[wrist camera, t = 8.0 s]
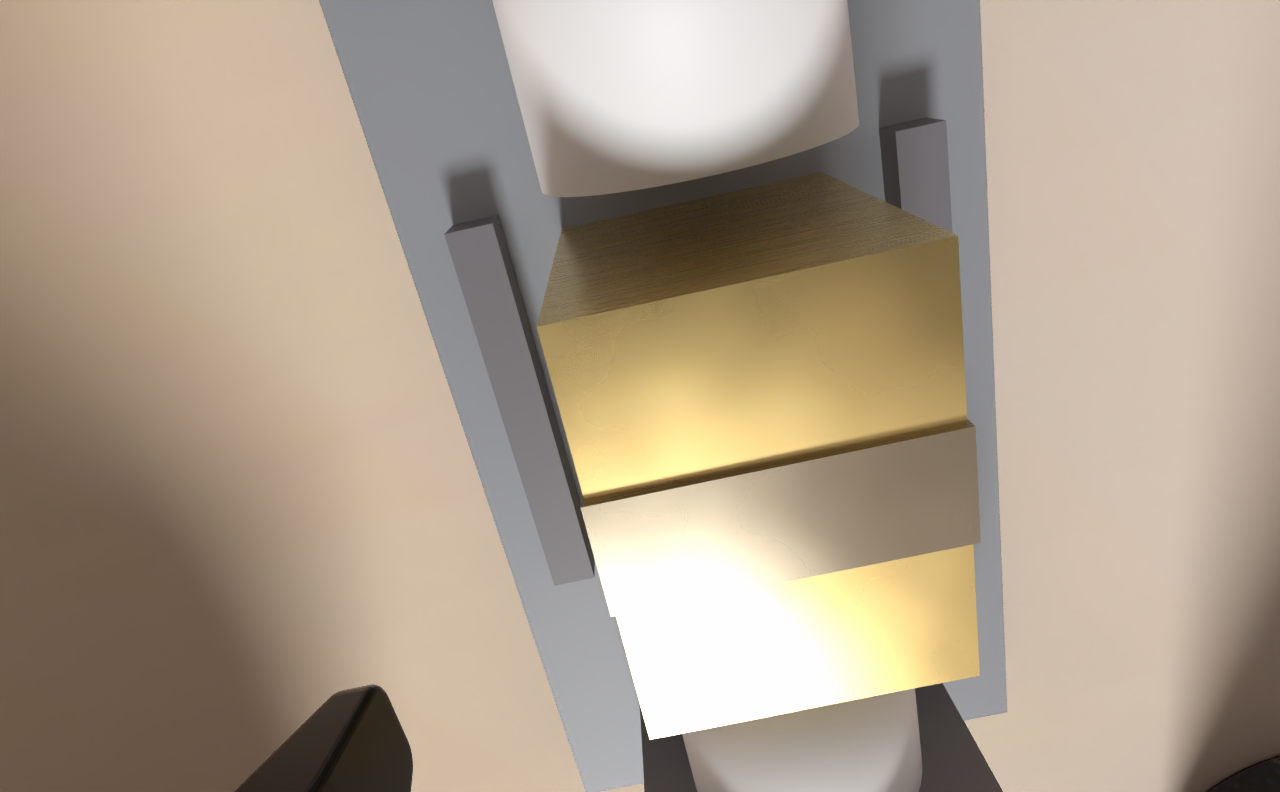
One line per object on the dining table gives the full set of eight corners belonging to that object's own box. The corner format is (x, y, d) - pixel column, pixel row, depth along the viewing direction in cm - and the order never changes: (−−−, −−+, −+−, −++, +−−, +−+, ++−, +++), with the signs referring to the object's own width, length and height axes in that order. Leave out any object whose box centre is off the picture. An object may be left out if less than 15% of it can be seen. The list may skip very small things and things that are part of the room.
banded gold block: (558, 229, 13) (531, 331, 8) (823, 171, 13) (966, 237, 8) (632, 523, 16) (646, 746, 10) (858, 476, 15) (986, 680, 10)
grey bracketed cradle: (987, 681, 19) (1153, 943, 13) (587, 759, 19) (581, 1047, 14) (934, -368, 11) (1274, -815, 6) (271, -200, 12) (-43, -458, 6)
